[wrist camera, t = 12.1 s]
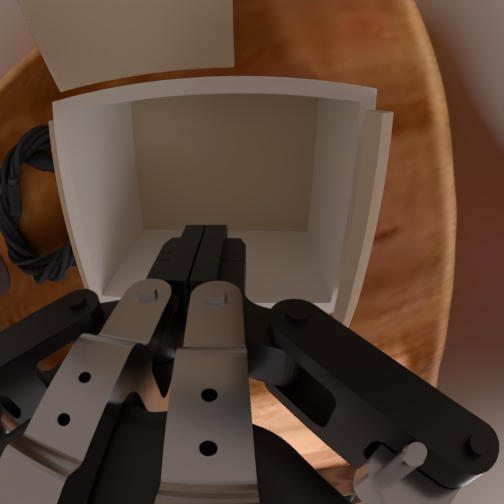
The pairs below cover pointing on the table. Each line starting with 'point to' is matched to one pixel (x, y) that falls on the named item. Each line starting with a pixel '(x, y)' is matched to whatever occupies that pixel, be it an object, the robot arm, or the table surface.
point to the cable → (9, 209)
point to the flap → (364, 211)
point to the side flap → (129, 37)
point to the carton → (213, 177)
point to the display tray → (341, 480)
